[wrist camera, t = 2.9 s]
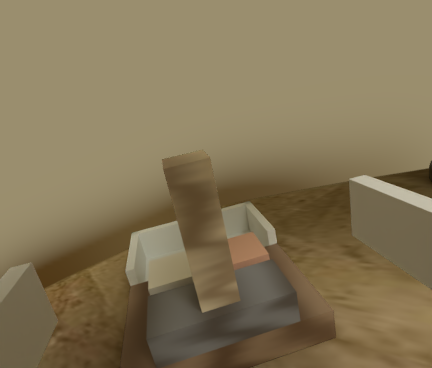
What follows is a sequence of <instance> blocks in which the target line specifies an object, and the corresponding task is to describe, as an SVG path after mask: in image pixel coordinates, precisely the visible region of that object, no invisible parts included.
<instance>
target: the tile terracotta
mask: <svg viewBox="0 0 432 368" xmlns="http://www.w3.org/2000/svg"><path fill="white" fill-rule="evenodd" d="M228 244H229V249H230V253H231V258H232V263H233V267H234V270H237V269H240V268H244V267H247V266H250V265H254V264H257V263H260V262H264V261H267V260H270V259H269V253H268V252H267V251H266V249H265V248H264V247H263V245H262V244H261V242H260V241H259V240H258V238H257V237H256V236H255V234H254V233H253V232H250V233H246V234H243V235H239V236H236V237H232V238H229V239H228Z"/></svg>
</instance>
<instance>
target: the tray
mask: <svg viewBox="0 0 432 368" xmlns="http://www.w3.org/2000/svg"><path fill="white" fill-rule="evenodd" d="M221 211H222V216H223V220H224V225H225V230H226V235H227V239H229V238H232V237H236V236H239V235H243V234H246V233H250V232H253V233H254V234H255V236H256V237H257V238H258V240H259V241H260V242H261V244H262V245H263V247H265V246H269V245H272V244H276V243H277V239H276V233H275V228H274V227H273V226H272V225H271V224H270V223H269V222H268V221H267V220H266V219H265V217H264V216H263V215H262V214H261V213H260V212H259V211H258V210H257V209H256V208H255V207H254V205H253V204H252V203H251V202H250V201H248V202H244V203H241V204H237V205H233V206H230V207H226V208H222V209H221ZM183 251H185V248H184V244H183V240H182V237H181V233H180V229H179V226H178V222H177V221H174V222H171V223H167V224H163V225H160V226H156V227H152V228H148V229H145V230H141V231H137V232H134V233H132V235H131V241H130V247H129V253H128V259H127V265H126V270H125V272H126V275H127V278H128V281H129V283H130V286H132V285H136V284H139V283H143V282H146V281H148V279H149V261H152V260H155V259H159V258H162V257H166V256H169V255H173V254H176V253H180V252H183Z"/></svg>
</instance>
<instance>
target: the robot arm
mask: <svg viewBox="0 0 432 368" xmlns="http://www.w3.org/2000/svg"><path fill="white" fill-rule="evenodd" d="M429 179H430V180H431V181H432V161H431V163H430V167H429ZM349 186H350V205H351V224H352V235H353V236H354V237H356V238H357V239H358V240H360V241H361V242H363V243H364V244H366V245H367V246H369V247H370V248H372V249H373V250H375V251H376V252H377V253H379V254H380V255H382V256H383V257H385V258H386V259H388V260H389V261H391V262H392V263H394V264H395V265H396V266H398V267H399V268H401V269H402V270H404V271H405V272H407V273H408V274H410V275H411V276H413V277H414V278H415V279H417V280H418V281H420V282H421V283H423V284H424V285H426V286H427V287H429V288H430V289H432V198H429V197H426V196H423V195H420V194H417V193H415V192H412V191H409V190H406V189H403V188H401V187H398V186H395V185H392V184H389V183H386V182H384V181H381V180H378V179H375V178H372V177H370V176H367V175H363V176H359V177H355V178H351V179H349ZM57 322H58V320H57V317H56V315H55V313H54V311H53V309H52V306H51V304H50V302H49V300H48V297H47V295H46V293H45V291H44V289H43V286H42V284H41V282H40V280H39V278H38V275H37V273H36V271H35V269H34V267H33V264H32V262H31V263H27V264H24V265H20V266H16V267H12V268H10V269H9V270H8V271H7V272H6V273H5V275H4V276H3V277H2V278H1V279H0V368H37V367H38V365H39V362H40V360H41V358H42V356H43V353H44V351H45V349H46V347H47V344H48V342H49V340H50V338H51V335H52V333H53V331H54V329H55V326H56V324H57Z"/></svg>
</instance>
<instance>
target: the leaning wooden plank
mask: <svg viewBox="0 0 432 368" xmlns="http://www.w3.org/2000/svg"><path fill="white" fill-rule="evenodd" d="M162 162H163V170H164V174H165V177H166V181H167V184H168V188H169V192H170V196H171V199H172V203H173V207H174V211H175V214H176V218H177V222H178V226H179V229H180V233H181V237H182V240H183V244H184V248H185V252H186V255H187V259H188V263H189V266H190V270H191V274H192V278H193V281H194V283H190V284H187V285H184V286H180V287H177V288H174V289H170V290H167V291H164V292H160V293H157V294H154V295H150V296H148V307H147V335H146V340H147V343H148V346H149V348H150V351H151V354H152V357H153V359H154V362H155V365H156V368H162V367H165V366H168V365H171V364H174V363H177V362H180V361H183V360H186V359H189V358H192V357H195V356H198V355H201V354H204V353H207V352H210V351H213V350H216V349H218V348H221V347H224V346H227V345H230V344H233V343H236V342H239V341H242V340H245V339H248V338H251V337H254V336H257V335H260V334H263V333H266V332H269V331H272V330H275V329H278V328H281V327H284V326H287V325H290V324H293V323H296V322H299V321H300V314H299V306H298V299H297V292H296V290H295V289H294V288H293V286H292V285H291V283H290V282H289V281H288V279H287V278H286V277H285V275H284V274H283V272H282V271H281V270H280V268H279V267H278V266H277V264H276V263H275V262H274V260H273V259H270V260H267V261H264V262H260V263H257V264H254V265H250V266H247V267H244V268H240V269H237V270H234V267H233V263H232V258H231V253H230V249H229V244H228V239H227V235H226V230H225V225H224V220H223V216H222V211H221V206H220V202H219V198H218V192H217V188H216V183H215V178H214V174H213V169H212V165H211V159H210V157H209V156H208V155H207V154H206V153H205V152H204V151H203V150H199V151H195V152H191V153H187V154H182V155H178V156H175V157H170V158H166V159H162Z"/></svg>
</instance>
